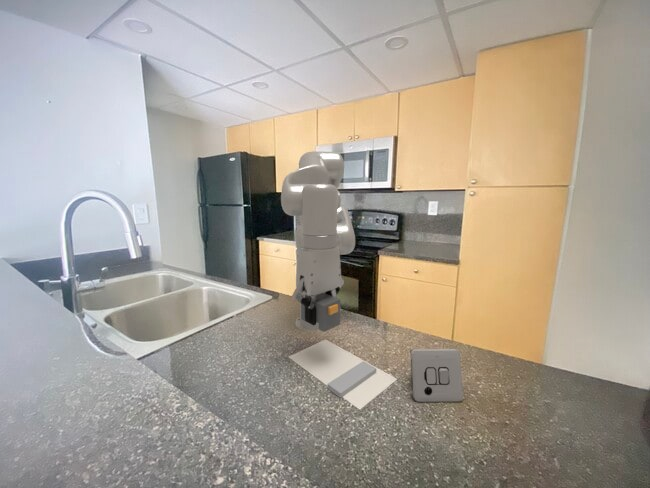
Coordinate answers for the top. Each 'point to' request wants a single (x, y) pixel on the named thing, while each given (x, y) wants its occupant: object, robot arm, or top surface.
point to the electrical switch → (436, 375)
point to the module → (325, 311)
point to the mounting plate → (343, 372)
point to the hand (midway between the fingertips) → (320, 318)
